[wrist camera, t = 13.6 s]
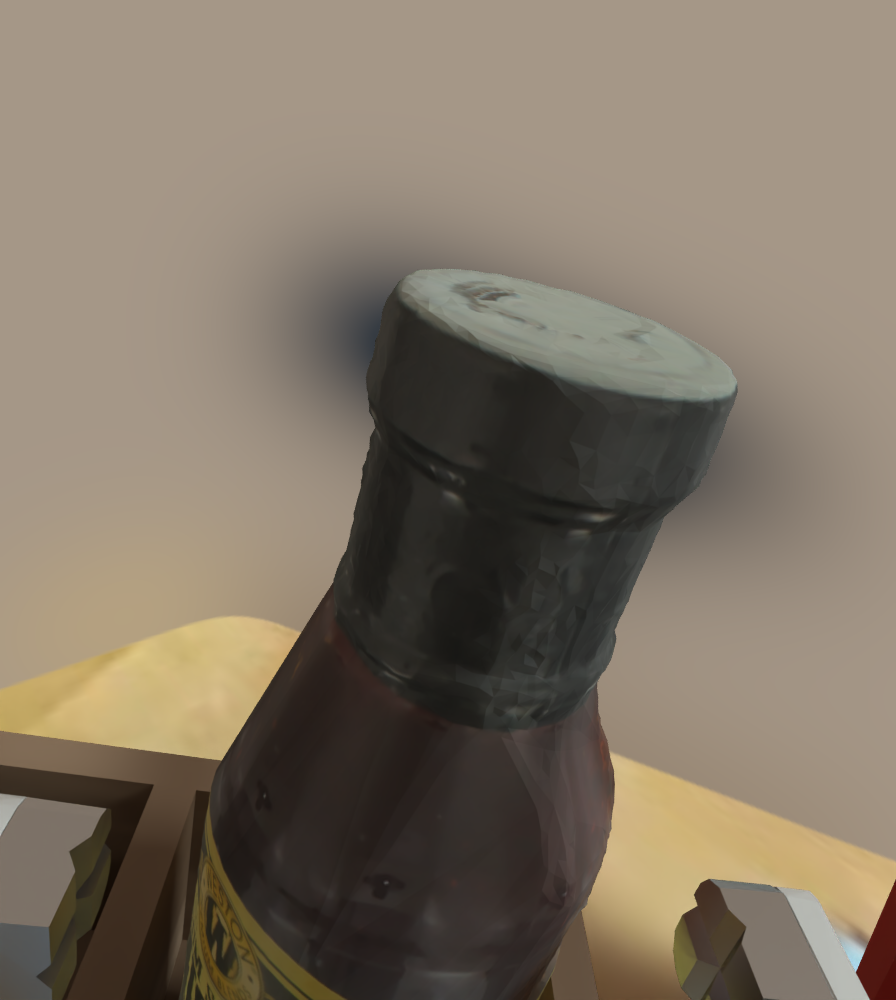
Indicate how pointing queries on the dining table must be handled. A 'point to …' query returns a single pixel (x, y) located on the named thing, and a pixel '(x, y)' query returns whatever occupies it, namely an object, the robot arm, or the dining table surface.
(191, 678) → the dining table surface
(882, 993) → the plastic cup
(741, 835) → the dining table surface
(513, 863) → the sauce bottle
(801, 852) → the dining table surface
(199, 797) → the walnut rail
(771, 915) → the robot arm
